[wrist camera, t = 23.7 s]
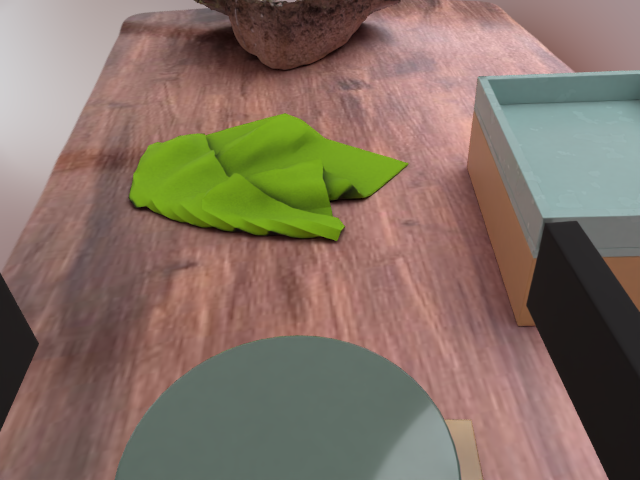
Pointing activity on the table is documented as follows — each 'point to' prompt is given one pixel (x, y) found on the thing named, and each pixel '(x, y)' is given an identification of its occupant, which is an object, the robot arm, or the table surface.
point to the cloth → (258, 178)
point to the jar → (292, 419)
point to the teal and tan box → (558, 169)
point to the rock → (294, 26)
